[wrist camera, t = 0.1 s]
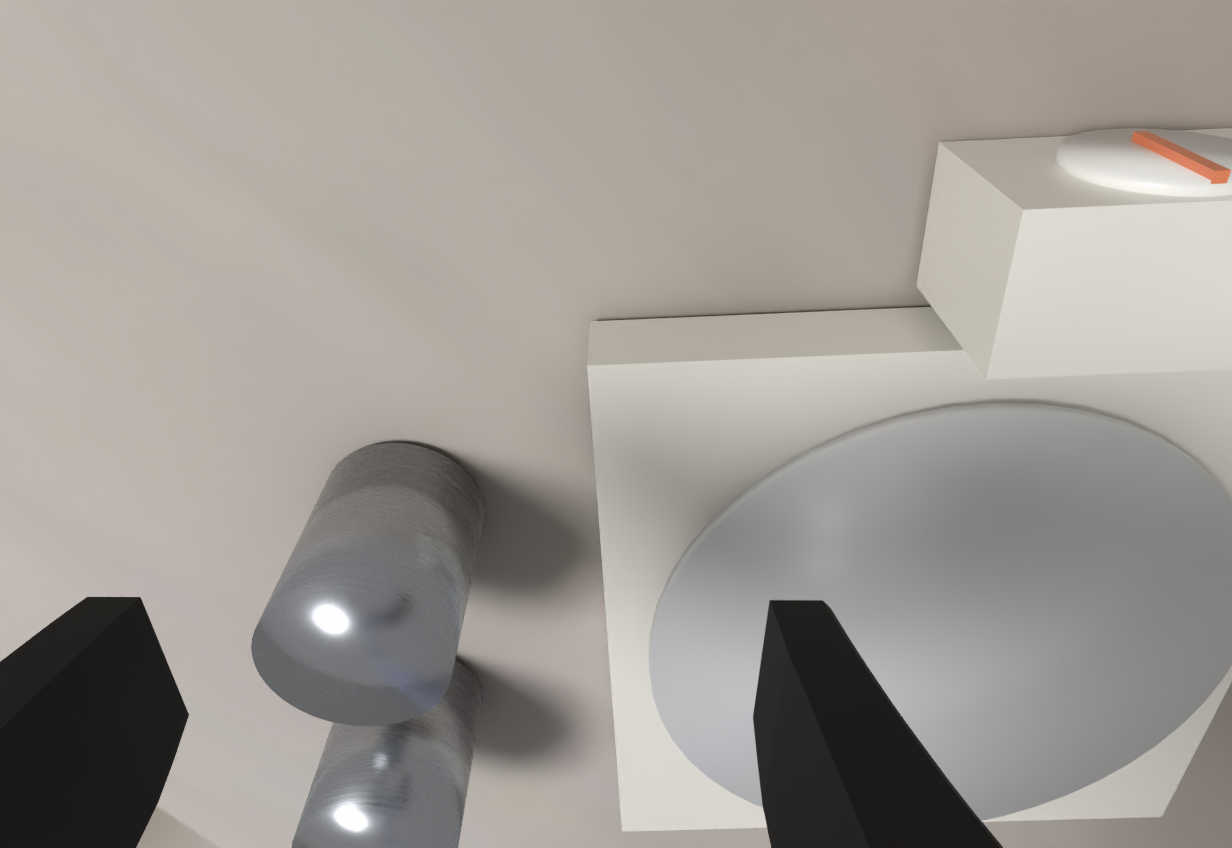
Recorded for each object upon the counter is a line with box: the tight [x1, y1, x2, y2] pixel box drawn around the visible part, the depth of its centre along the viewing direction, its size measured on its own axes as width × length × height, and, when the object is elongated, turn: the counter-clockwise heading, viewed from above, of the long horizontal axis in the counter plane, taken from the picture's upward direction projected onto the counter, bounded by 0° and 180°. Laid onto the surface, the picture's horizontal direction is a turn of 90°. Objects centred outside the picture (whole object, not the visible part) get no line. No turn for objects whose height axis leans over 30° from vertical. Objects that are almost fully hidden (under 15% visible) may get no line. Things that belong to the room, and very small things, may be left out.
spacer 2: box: [292, 660, 482, 848], centre depth 23 cm, size 4×4×5 cm
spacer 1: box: [251, 443, 485, 726], centre depth 19 cm, size 4×4×5 cm
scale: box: [587, 128, 1232, 831], centre depth 20 cm, size 20×16×4 cm
